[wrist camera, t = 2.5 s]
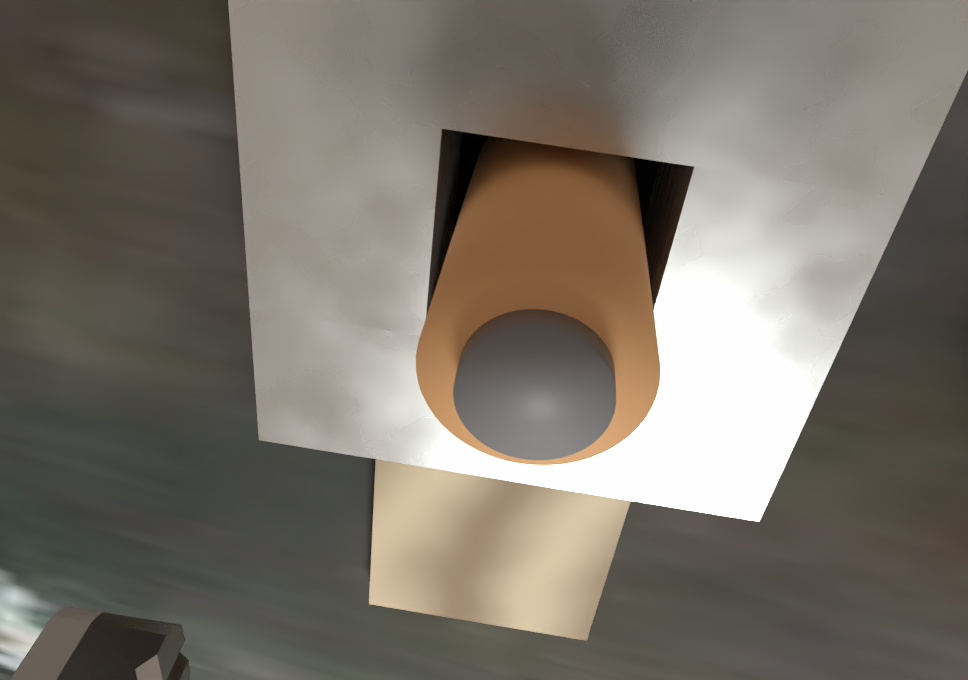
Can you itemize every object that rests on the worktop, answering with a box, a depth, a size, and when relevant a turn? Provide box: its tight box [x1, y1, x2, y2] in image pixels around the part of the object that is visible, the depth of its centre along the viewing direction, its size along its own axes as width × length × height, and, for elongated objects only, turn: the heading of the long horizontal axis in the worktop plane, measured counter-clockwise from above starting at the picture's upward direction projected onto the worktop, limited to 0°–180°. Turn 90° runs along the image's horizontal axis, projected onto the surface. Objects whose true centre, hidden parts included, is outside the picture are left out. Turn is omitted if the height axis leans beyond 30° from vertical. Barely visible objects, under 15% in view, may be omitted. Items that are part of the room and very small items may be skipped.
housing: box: [228, 0, 968, 521], centre depth 22 cm, size 16×16×5 cm
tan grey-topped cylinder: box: [416, 136, 661, 465], centre depth 20 cm, size 5×5×11 cm
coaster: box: [369, 459, 630, 641], centre depth 33 cm, size 10×10×1 cm
